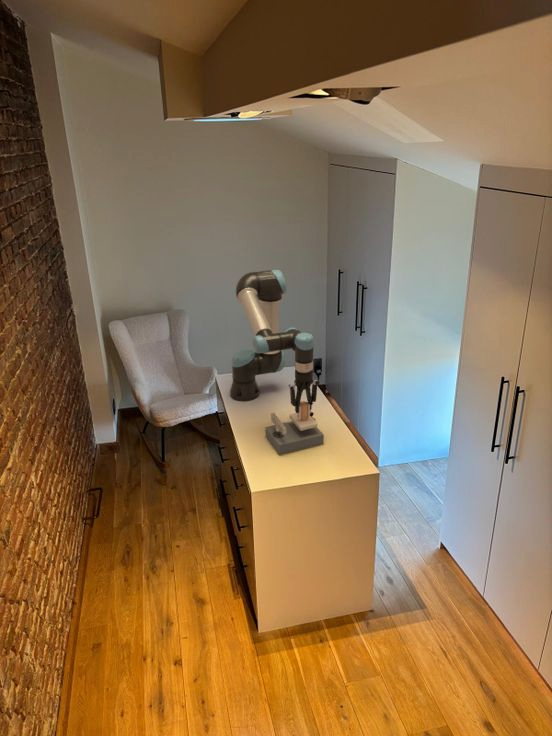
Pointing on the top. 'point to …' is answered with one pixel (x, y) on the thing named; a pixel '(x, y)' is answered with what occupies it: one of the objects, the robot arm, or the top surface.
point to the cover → (303, 418)
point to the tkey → (278, 425)
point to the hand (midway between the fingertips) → (303, 417)
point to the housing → (293, 438)
